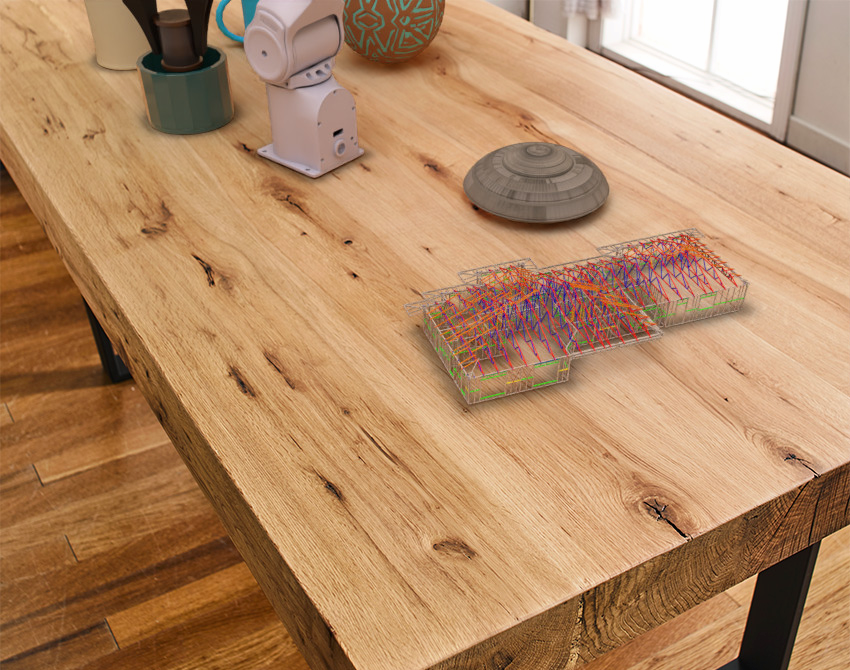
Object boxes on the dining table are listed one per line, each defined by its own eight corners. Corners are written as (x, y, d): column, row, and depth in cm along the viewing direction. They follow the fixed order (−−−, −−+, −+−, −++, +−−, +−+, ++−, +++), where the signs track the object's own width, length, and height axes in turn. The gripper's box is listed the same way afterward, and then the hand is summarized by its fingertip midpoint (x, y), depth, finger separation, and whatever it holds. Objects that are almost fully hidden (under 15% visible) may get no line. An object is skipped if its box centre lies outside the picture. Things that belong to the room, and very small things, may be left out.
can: (97, 73, 123) (74, -23, 115) (96, 49, 130) (74, -43, 122) (168, 66, 125) (149, -30, 117) (163, 42, 131) (146, -49, 123)
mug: (296, 29, 135) (290, -31, 130) (311, 48, 129) (305, -14, 124) (214, 40, 132) (205, -21, 127) (225, 59, 126) (216, -4, 121)
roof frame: (687, 245, 89) (697, 195, 85) (783, 332, 78) (799, 279, 75) (391, 306, 82) (389, 255, 78) (452, 412, 71) (453, 358, 67)
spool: (208, 67, 107) (200, 18, 104) (167, 74, 106) (157, 25, 102) (197, 54, 111) (189, 6, 107) (157, 60, 109) (147, 12, 105)
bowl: (251, 114, 113) (243, 56, 108) (184, 142, 107) (173, 82, 102) (198, 93, 118) (188, 36, 113) (132, 118, 112) (118, 60, 107)
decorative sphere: (425, 86, 119) (423, -40, 109) (317, 74, 122) (306, -50, 112) (458, 46, 129) (459, -72, 119) (358, 36, 133) (351, -80, 123)
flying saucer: (615, 174, 100) (622, 125, 96) (597, 243, 89) (604, 191, 86) (480, 158, 103) (482, 110, 99) (446, 224, 92) (447, 173, 89)
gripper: (76, -69, 96) (107, 63, 105) (214, -67, 95) (233, 66, 104) (99, -86, 101) (127, 41, 110) (230, -84, 100) (247, 44, 109)
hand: (180, 52), depth 107 cm, fingers closed on spool, 4 cm apart
